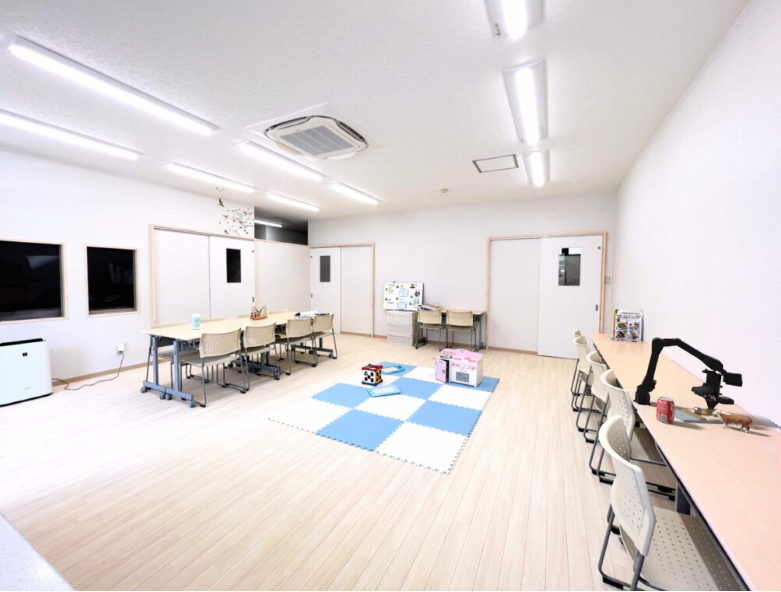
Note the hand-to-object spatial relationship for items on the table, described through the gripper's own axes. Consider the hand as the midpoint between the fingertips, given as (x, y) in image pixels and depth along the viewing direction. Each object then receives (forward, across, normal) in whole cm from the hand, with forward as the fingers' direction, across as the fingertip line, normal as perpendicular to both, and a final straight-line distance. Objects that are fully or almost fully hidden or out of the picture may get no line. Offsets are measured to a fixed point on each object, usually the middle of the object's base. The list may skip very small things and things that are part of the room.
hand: (710, 410), depth 174 cm
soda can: (+3, +8, -30) cm, 31 cm away
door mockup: (+3, +2, -9) cm, 10 cm away
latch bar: (+1, +2, -4) cm, 4 cm away
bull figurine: (+3, +14, -3) cm, 15 cm away
